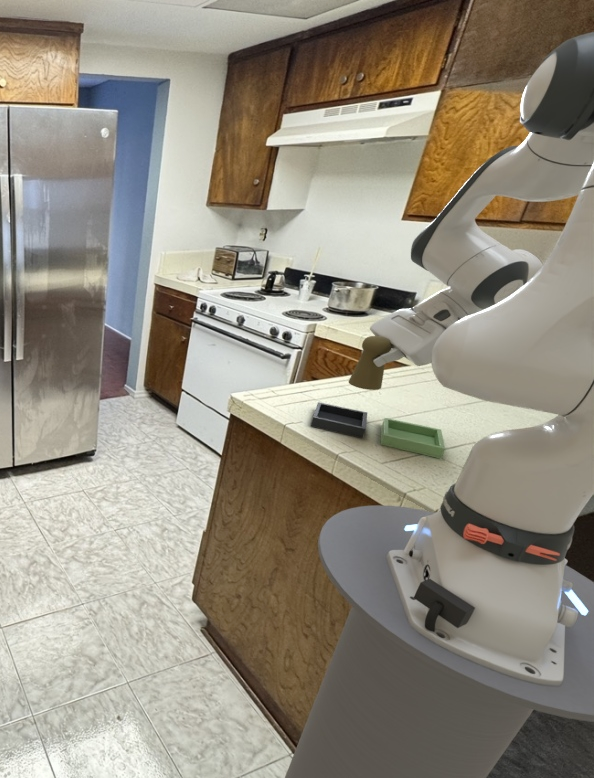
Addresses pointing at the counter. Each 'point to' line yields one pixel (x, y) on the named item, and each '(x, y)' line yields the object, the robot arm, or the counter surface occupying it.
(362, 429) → the dark tray
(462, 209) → the robot arm
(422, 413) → the counter surface
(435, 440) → the green tray
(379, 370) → the olive brown pawn
